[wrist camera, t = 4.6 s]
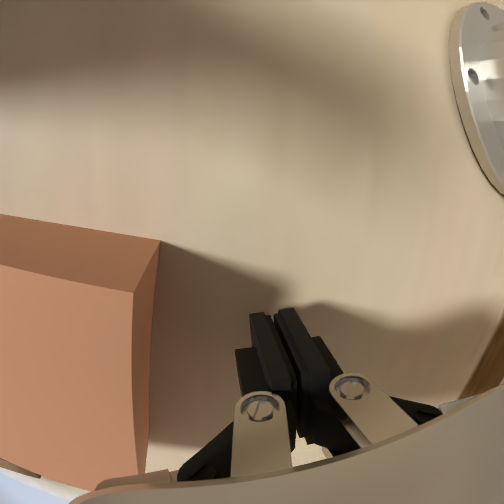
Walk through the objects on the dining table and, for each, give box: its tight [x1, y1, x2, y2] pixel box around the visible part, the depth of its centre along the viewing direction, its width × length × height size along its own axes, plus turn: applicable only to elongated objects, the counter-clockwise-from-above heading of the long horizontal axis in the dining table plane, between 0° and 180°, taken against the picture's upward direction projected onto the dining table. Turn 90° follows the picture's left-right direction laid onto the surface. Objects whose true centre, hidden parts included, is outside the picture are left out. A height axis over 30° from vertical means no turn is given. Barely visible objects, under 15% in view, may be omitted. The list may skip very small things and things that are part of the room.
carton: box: [0, 214, 161, 492], centre depth 10 cm, size 8×11×5 cm
